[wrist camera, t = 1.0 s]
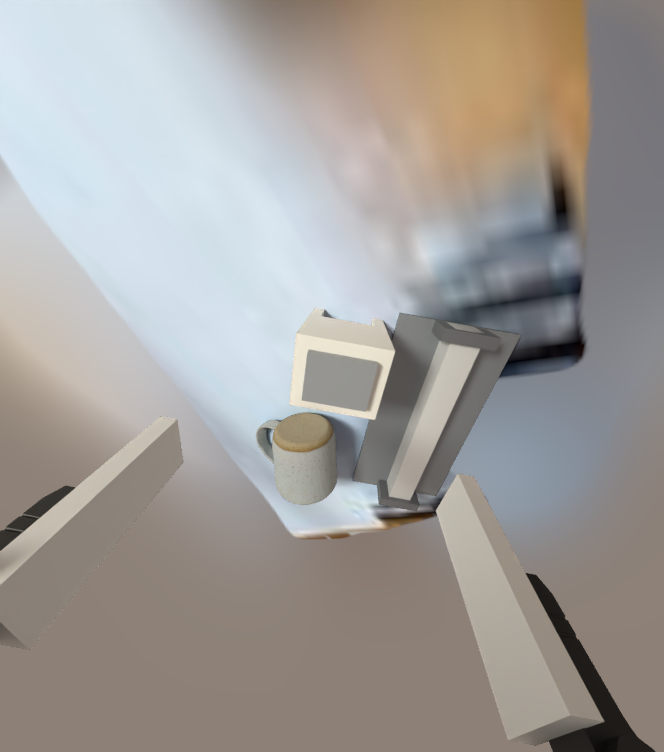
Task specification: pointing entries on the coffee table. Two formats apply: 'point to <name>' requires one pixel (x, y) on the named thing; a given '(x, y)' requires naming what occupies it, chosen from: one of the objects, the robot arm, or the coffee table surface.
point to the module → (341, 365)
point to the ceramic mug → (301, 456)
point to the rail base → (406, 396)
